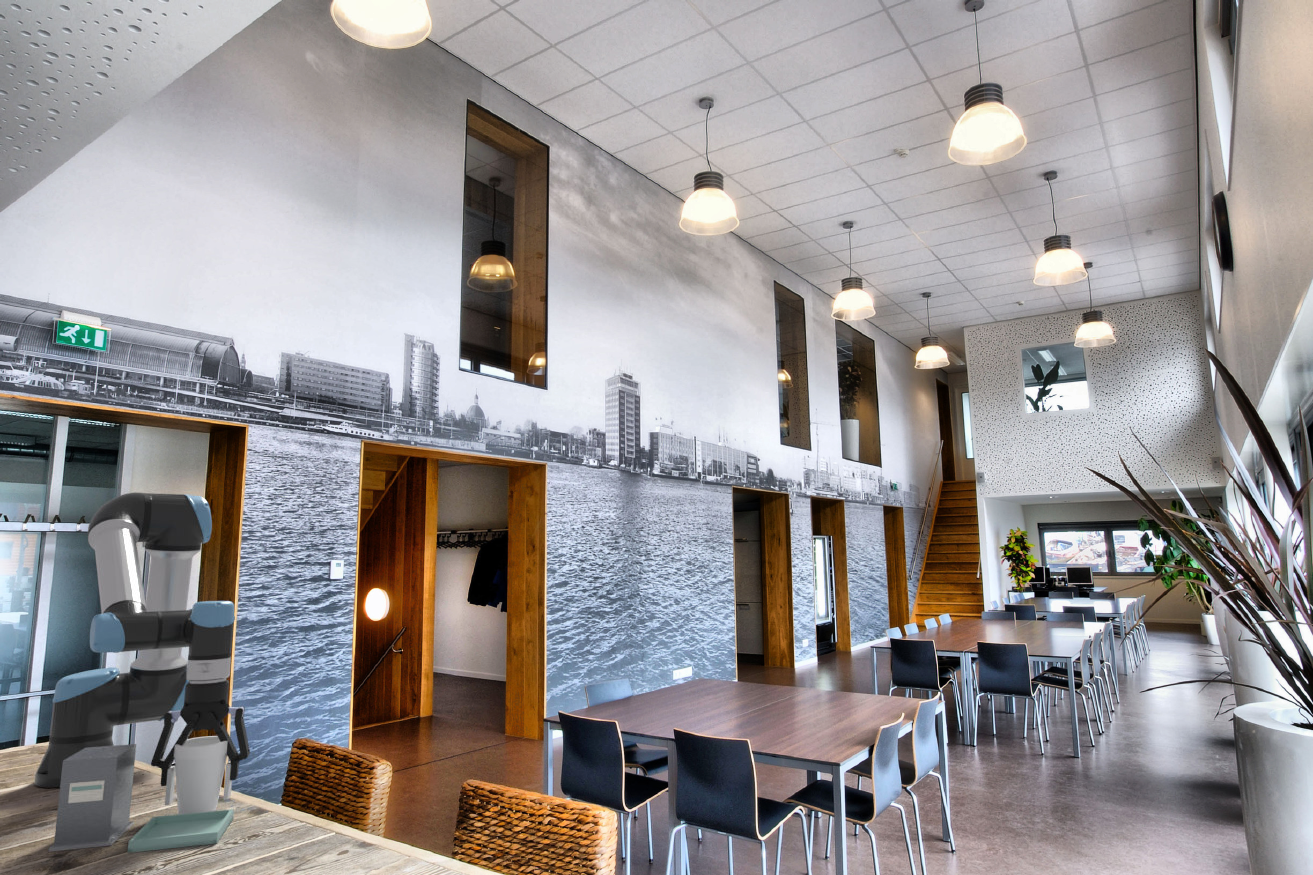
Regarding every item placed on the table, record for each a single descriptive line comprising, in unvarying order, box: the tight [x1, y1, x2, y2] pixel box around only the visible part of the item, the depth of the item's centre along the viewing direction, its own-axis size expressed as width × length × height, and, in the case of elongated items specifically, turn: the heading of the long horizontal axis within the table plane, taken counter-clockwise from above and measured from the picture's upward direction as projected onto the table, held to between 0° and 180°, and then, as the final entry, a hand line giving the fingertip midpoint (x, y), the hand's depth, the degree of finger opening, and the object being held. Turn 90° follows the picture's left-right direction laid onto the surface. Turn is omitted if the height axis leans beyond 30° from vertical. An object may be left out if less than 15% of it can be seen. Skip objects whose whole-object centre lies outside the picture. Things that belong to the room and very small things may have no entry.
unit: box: [48, 743, 137, 853], centre depth 136 cm, size 11×9×14 cm
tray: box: [127, 808, 235, 854], centre depth 136 cm, size 13×13×2 cm
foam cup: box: [174, 735, 229, 815], centre depth 150 cm, size 10×9×13 cm
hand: (198, 800), depth 149 cm, fingers closed on foam cup, 9 cm apart
